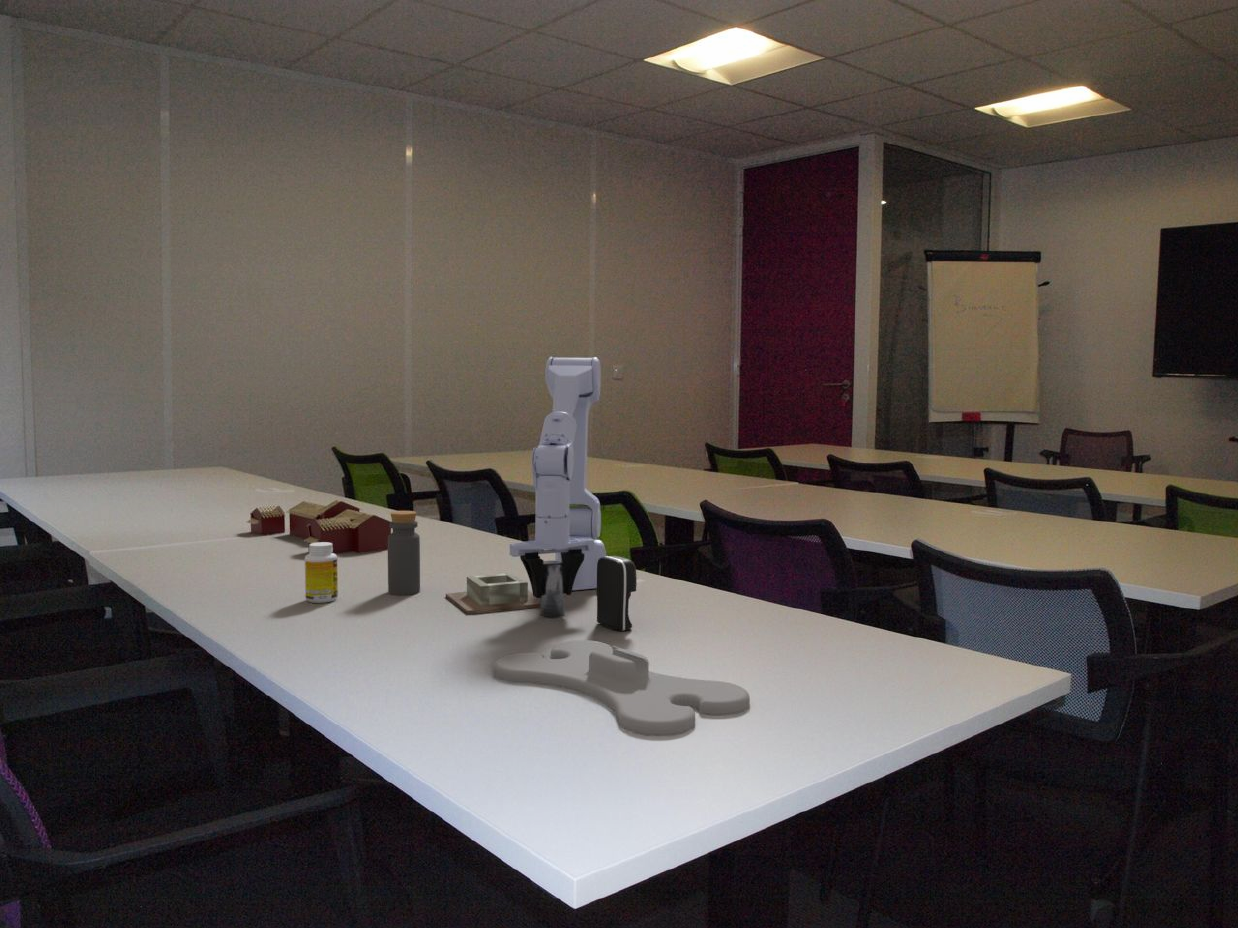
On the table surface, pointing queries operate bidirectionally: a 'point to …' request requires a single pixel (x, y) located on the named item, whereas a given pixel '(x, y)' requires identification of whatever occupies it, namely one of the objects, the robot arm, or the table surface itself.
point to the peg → (552, 589)
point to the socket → (494, 594)
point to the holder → (626, 686)
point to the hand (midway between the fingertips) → (552, 595)
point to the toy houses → (326, 526)
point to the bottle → (403, 554)
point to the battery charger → (615, 591)
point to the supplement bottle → (321, 573)
